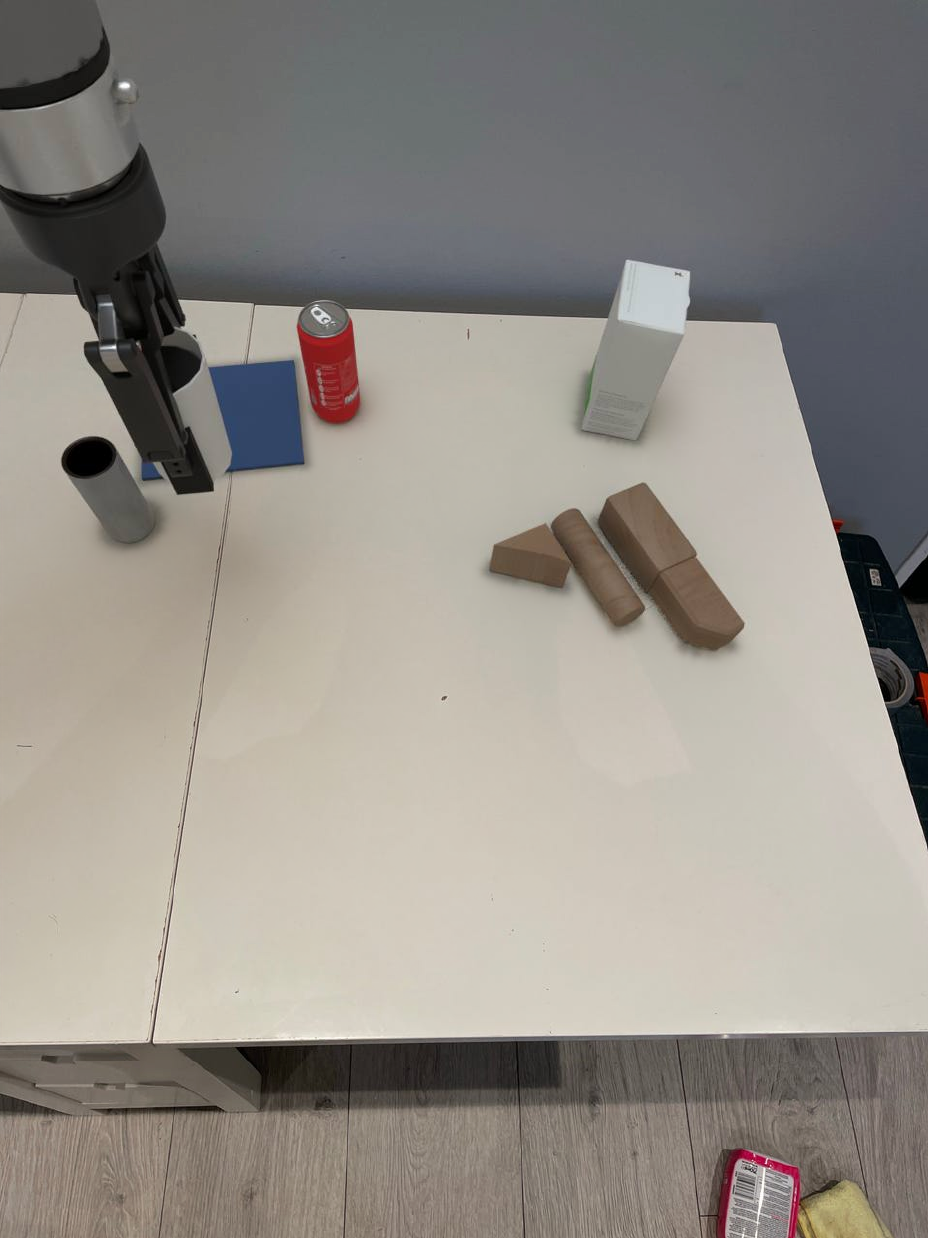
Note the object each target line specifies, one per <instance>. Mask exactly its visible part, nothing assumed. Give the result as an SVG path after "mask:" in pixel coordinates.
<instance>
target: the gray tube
mask: <svg viewBox="0 0 928 1238" xmlns="http://www.w3.org/2000/svg"><path fill="white" fill-rule="evenodd" d="M60 464H61V468H62V470H63V471H64V473H65V474H66V477H68V479H69V480H70V482H71V483H72V484H73V486H74V487H75V489H76V490H77V492H78V493H79V494H80V496H81V498H82V499H83V500H84V501H85V503H86V505H87V506H88V507H89V508H90V510H91V511H92V513H93V514H94V515H95V517H96V518H97V520H98V521H99V523H100V524H101V526H102V527H103V528H104V530H105V531H106V533H107V534H108V535H109V536H110V538H112V539H113V540H115V541H117V542H119V543H122V544H123V543H124V544H130V543H131V544H132V543H136V542H139V541H141V540H143V539H145V538H146V537H148V535H149V534H150V533H151V532H152V531H153V529H154V527H155V523H156V518H155V517H156V516H155V514H154V512H153V510H152V508H151V506H150V504H149V503H148V500H147V499H146V498H145V496H144V494H143V492H142V491H141V489H140V487H139V485H138V484H137V482H136V480H135V479H134V477H133V475H132V473H131V472H130V470H129V468H128V466H127V465H126V463H125V461H124V459H123V458H122V456H121V454H120V452H119V451H118V449H117V447H116V445H114V442H112V441H111V440H109V439H107V438H105V437H102V436H97V435H90V436H89V435H88V436H83V437H81V438H77V439H76V440H74V441H72V442H71V443H70V444H69V445H68V446H67V447H66V448H65V449H64V451H63V452H62V454H61V457H60Z"/></svg>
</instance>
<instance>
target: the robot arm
mask: <svg viewBox="0 0 928 1238" xmlns="http://www.w3.org/2000/svg"><path fill="white" fill-rule="evenodd" d="M139 98H140V95H139V89H138V86H137V84H136V83H135V81H134V80H133V79H132V78H128V77H121V78H120V77H119V75H118V72H117V69H116V61H115V58H114V54H113V53H112V50H111V44H110V41H109V38H108V35H107V32H106V29H105V25H104V22H103V20H102V16H101V13H100V10H99V7H98V3H97V1H96V0H0V203H1V205H2V208H3V209H4V211H5V213H6V215H7V217H8V218H9V220H10V222H11V224H12V226H13V228H14V229H15V231H16V233H17V235H18V237H19V239H20V240H21V242H22V244H23V245H24V247H25V248H26V249H27V250H28V251H29V253H31V255H32V256H34V257H35V258H36V259H38V260H40V261H41V262H42V263H45V264H47V265H49V266H50V267H54V268H56V269H57V270H60V271H62V272H64V273H66V274H68V275H69V276H71V277H72V283H73V289H74V291H75V294H76V296H77V299H78V301H79V305H80V307H81V308H82V309H83V310H84V311H85V312H87V314H88V315H89V318H90V320H91V324H92V326H93V329H94V332H95V334H96V336H97V337H96V338H97V339H98V340H89V341H84V343H83V355H84V357H85V359H86V362H87V363H88V364H89V366H90V367H91V368H92V369H93V371H94V372H95V373H96V374H97V375H98V377H99V378H100V379H101V381H102V383H103V385H104V387H105V389H106V391H107V393H108V395H109V397H110V399H111V401H112V403H113V405H114V407H115V409H116V411H117V412H118V415H119V416H120V419H121V421H122V423H123V425H124V426H125V429H126V431H127V433H128V434H129V436H130V438H131V440H132V442H133V445H134V447H135V449H136V450H137V452H138V454H139V457H140V458H141V461H142V460H143V462H144V463H153V462H161V464H162V466H163V468H164V470H165V472H166V474H167V476H168V478H169V480H170V482H171V483H170V484H171V486H172V488H173V490H174V491H175V495H177V496H181V495H192V494H205V493H213V492H215V483H214V481H213V480H212V478H211V476H210V473H209V471H208V468H207V466H206V464H205V461H204V459H203V457H202V454H201V452H200V450H199V447H198V445H197V442H196V440H195V438H194V435H193V433H192V431H191V428H190V426H189V427H186V428H184V424H183V421H182V418H181V415H180V412H179V409H178V405H177V403H176V401H175V398H174V396H173V390H172V386H171V383H170V380H169V377H168V374H167V371H166V368H165V364H164V361H163V358H162V355H161V352H160V348H161V346H162V341H163V337H165V336H168V335H171V334H173V333H174V331H175V329H174V326H175V327H177V328H180V329H182V327H183V328H184V327H185V326H186V322H187V319H186V314H185V313H184V311H183V308H182V306H181V303H180V301H179V298H178V295H177V293H176V290H175V288H174V284H173V282H172V279H171V277H170V274H169V272H168V269H167V266H166V263H165V261H164V259H163V256H162V253H161V250H160V248H159V246H158V242H159V240H160V239H161V237H162V235H163V233H164V231H165V227H166V224H167V212H166V206H165V202H164V200H163V198H162V194H161V191H160V188H159V186H158V182H157V179H156V176H155V173H154V170H153V167H152V164H151V161H150V158H149V155H148V152H147V150H146V148H145V147H144V145H143V144H142V143H141V142H140V133H139V128H138V126H137V122H136V119H135V117H134V114H133V111H132V107H131V105H133V104H135V103H137V102H138V101H139ZM192 335H193V336H194V337H195V338H196V339H197V340H198V337H197V335H196V334H195V333H194V334H192Z"/></svg>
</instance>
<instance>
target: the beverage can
mask: <svg viewBox="0 0 928 1238" xmlns="http://www.w3.org/2000/svg"><path fill="white" fill-rule="evenodd" d="M296 331H297V332H296V333H297V335H298V336H297V337H298V343H299V348H300V352H301V359H302V363H303V369H304V375H305V379H306V385H307V390H308V396H309V400H310V405H311V408H312V409H313V411H314V412H315V413H316V414H317V416H318V417H319V418H320V419H321V420H322V421H324V422H326V423H329V424H334V425H337V424H344V423H347V422H349V421H350V420H352V419H353V418H354V417H355V416H356V414H357V412H358V409H359V407H360V406H361V392H360V384H359V383H360V382H359V371H358V364H357V354H356V353H357V351H356V341H355V334H354V323H353V319H352V318H351V316H350V314H349V311H348V310H347V309H346V308H345V307H344V306H343V305H342V304H340V303H338V302H336V301H333V300H325V299H324V300H323V299H322V300H316V301H312V302H310V303H308V304H306V305H305V306H304V307H303V308H302V309H301V310H300V312H299V314H298V317H297V322H296Z"/></svg>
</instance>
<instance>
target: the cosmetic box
mask: <svg viewBox="0 0 928 1238" xmlns="http://www.w3.org/2000/svg"><path fill="white" fill-rule="evenodd" d="M622 269H623V270H622V272H621V276H620V279H619V282H618V286H617V288H616V290H615V291H616V292H615V295H614V297H613V300H612V304H611V308H610V311H609V314H608V316H607V319H606V323H605V326H604V329H603V333H602V336H601V339H600V343H599V346H598V348H597V351H596V355H595V357H594V361H593V364H592V367H591V370H590V373H589V377H588V384H587V389H586V396H585V401H584V408H583V415H582V420H581V425H580V426H581V427H580V429H581V431H583V432H589V433H595V434H600V435H606V436H609V437H616V438H621V439H624V440H625V439H626V440H631V441H638V438H639V436H640V433H641V431H642V429H643V426H644V425H645V423H646V422H645V421H646V419H647V418H648V415H649V413H650V411H651V409H652V407H653V404H654V402H655V400H656V399H657V396H658V393H659V391H660V389H661V387H662V385H663V382H664V380H665V378H666V376H667V374H668V372H669V370H670V367H671V365H672V363H673V361H674V359H675V356H676V354H677V352H678V350H679V348H680V345H681V343H682V341H683V338H684V337H685V334H686V325H687V324H686V323H687V315H688V307H690V304H691V297H690V295H689V294H690V284H691V270H685V269H680V268H675V267H669V266H663V265H659V264H652V263H648V262H644V261H637V260H633V259H632V260H631V259H626V260H625V263H624V266H623V268H622Z"/></svg>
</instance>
